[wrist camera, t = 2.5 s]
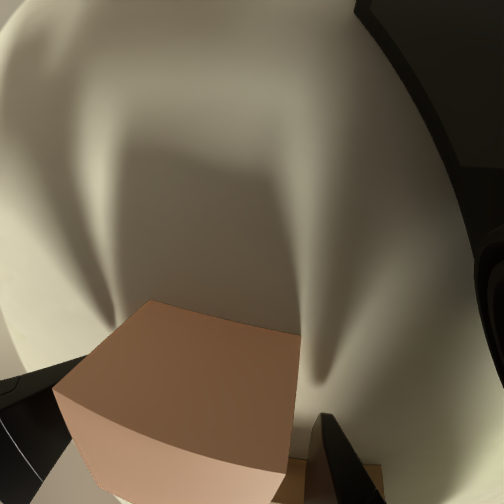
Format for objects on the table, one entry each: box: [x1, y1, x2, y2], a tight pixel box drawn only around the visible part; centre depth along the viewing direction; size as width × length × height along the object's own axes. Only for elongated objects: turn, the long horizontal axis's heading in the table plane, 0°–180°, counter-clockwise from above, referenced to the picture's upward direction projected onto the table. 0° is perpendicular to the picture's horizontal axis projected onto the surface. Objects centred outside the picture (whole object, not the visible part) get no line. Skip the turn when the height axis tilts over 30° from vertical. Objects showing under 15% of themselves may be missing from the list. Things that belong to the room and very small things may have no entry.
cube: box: [52, 300, 301, 504], centre depth 8 cm, size 5×5×5 cm
